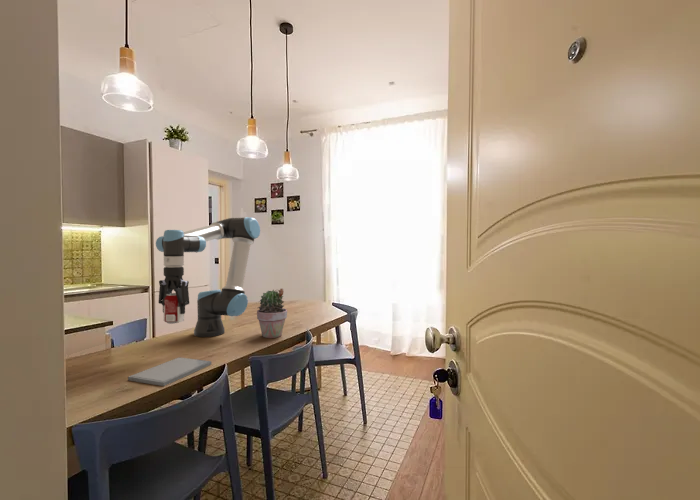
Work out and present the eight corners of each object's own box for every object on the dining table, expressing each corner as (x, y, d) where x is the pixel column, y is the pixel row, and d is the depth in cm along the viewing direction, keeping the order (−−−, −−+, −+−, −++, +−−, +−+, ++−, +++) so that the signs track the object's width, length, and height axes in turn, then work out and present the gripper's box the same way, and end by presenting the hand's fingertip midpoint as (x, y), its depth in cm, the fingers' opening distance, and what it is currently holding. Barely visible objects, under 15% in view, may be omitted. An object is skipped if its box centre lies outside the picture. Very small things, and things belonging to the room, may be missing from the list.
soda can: (175, 324, 136) (175, 295, 136) (160, 323, 138) (160, 294, 138) (186, 321, 143) (186, 293, 143) (172, 320, 144) (172, 292, 144)
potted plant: (257, 331, 184) (257, 286, 184) (292, 331, 183) (292, 286, 183) (245, 339, 166) (246, 289, 166) (284, 340, 165) (284, 290, 165)
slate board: (179, 360, 136) (179, 357, 136) (211, 364, 131) (211, 361, 131) (128, 380, 115) (128, 376, 115) (164, 386, 110) (164, 382, 110)
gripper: (148, 266, 140) (148, 321, 140) (185, 267, 134) (185, 324, 134) (163, 265, 147) (163, 317, 147) (199, 266, 141) (199, 320, 141)
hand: (173, 321), depth 140 cm, fingers closed on soda can, 7 cm apart
